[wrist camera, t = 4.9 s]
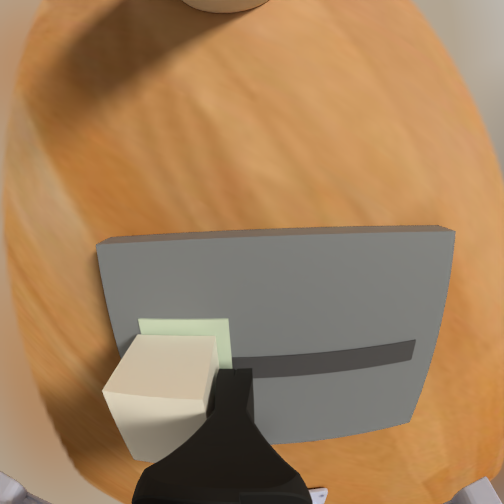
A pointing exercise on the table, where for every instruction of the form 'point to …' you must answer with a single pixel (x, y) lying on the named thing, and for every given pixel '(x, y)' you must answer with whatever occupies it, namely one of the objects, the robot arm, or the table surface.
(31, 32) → the table surface
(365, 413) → the slider board
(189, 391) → the knob
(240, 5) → the candle
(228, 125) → the table surface
